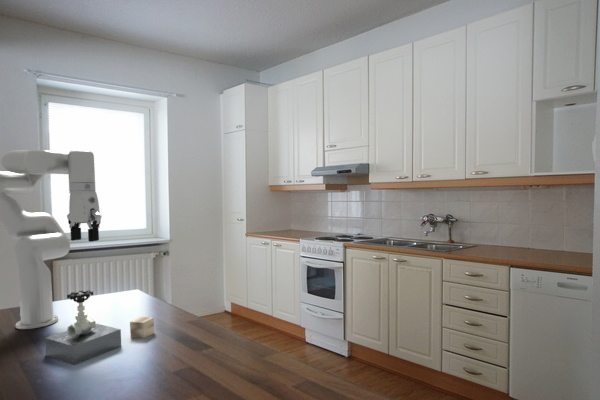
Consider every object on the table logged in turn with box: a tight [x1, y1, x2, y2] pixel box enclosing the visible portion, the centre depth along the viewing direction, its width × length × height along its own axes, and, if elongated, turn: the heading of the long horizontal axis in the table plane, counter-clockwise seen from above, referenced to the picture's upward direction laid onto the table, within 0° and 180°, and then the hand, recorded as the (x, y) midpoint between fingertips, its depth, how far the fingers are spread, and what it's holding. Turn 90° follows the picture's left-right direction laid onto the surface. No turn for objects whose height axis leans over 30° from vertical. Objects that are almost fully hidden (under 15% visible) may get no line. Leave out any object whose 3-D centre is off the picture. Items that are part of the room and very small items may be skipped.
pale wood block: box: [129, 316, 155, 339], centre depth 125 cm, size 5×5×5 cm
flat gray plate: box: [44, 323, 122, 366], centre depth 113 cm, size 14×14×5 cm
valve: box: [66, 289, 97, 338], centre depth 112 cm, size 7×7×12 cm
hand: (84, 240), depth 128 cm, fingers open, 9 cm apart
